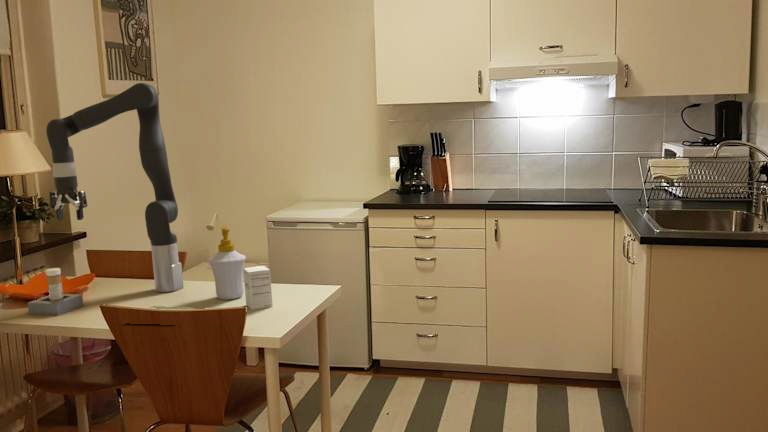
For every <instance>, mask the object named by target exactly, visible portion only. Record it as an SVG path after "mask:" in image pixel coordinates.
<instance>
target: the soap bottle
mask: <svg viewBox="0 0 768 432" xmlns="http://www.w3.org/2000/svg"><path fill="white" fill-rule="evenodd" d="M220 229H221V235H222V237H223V239H220V244H218V245H217V246H218V247H217V249H218V252H217V253H216V254H214V255H213V256H212V257H210V258H208V263H209V265H210V267H211V270H212V275H213V277H214V282H215V283H214V284H215V294H216V296H217V298H218V299H220V300H226V301H228V300H229V299H230V300H235V299H238V298H241V297H242V296H243V295H244V292H245V288H244V280H243V278H244V270H243V268H245V262H246V259H247V257H246V255H244V254H242V253H239V252H238V251H237V250H235V243H232V239H231V238H228V236H229V232H230V230H231V229H230V227H228V226H224V225H223V226H220Z"/></svg>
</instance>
